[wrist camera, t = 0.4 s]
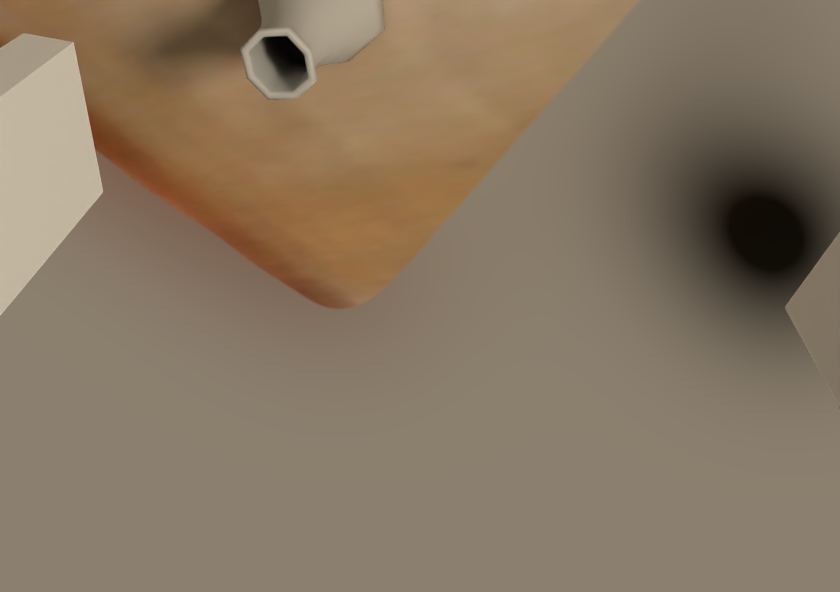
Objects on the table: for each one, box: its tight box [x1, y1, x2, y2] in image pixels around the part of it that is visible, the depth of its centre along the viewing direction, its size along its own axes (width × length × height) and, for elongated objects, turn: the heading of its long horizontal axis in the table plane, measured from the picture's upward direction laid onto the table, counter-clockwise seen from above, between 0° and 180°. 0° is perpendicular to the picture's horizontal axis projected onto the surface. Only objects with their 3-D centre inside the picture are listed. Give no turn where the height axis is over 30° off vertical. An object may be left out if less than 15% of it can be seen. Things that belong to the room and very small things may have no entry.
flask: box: [240, 0, 385, 100], centre depth 31 cm, size 7×7×10 cm
